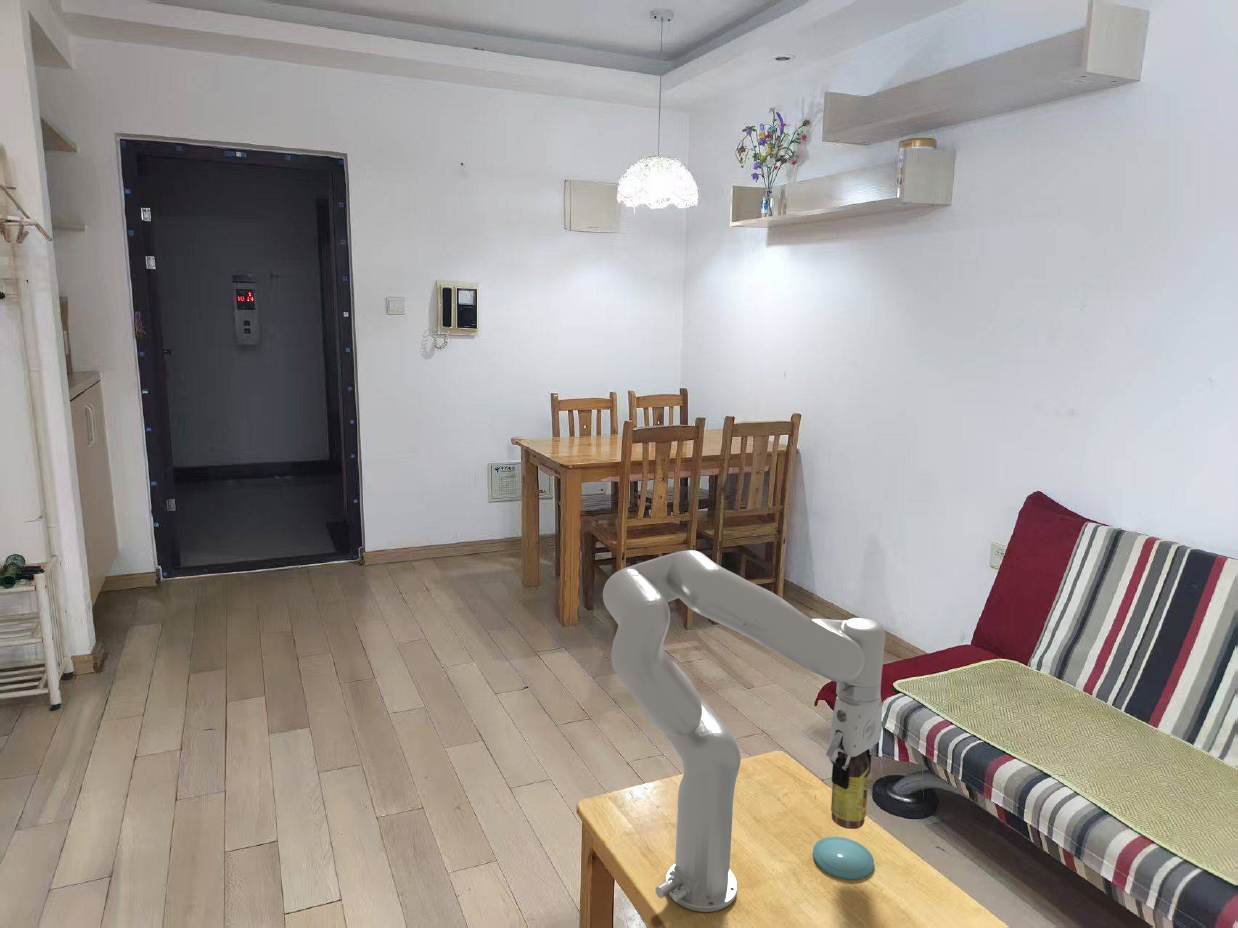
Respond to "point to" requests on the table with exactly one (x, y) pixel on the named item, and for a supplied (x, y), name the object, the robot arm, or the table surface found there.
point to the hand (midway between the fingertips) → (850, 777)
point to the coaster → (843, 858)
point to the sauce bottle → (852, 794)
